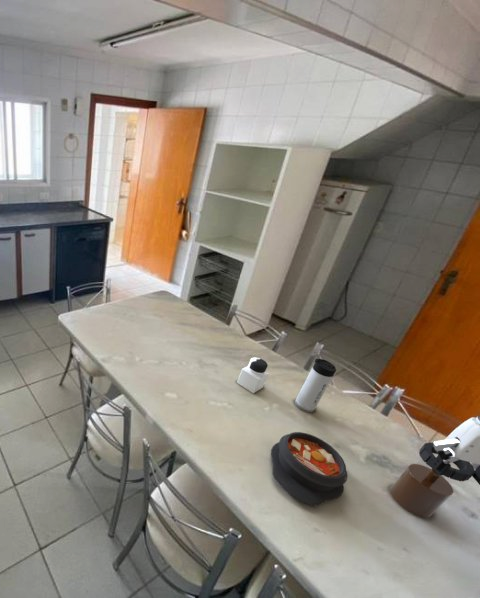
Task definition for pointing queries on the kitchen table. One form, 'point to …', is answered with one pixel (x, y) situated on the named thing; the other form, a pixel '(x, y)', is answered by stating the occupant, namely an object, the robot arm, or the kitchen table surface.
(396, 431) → the kitchen table surface
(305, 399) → the travel mug
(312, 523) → the kitchen table surface
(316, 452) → the casserole
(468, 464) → the black segmented ring
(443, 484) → the brown cylinder
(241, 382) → the medicine bottle
